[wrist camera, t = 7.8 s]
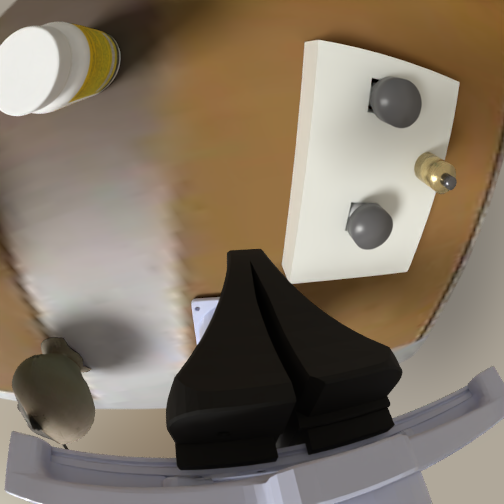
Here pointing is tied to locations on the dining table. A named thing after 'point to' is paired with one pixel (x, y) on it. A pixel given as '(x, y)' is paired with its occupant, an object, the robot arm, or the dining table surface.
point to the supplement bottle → (54, 67)
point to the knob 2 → (395, 101)
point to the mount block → (359, 163)
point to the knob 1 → (369, 225)
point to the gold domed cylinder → (435, 172)
